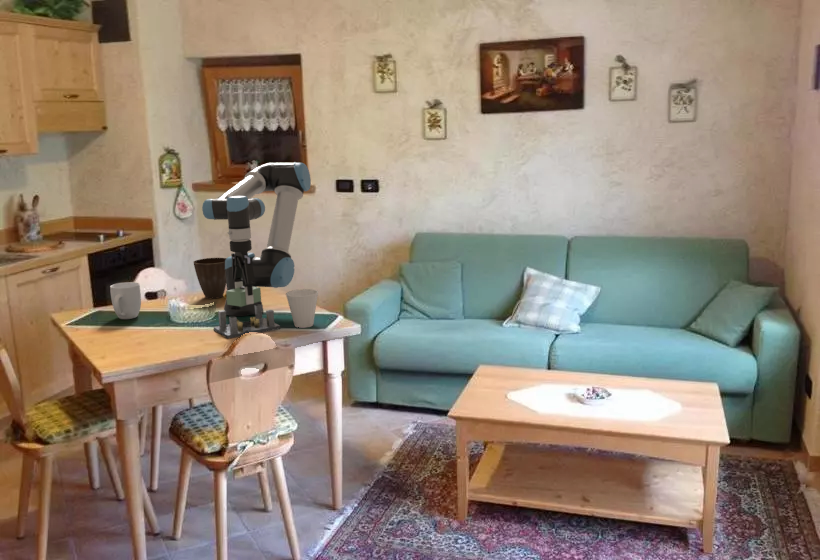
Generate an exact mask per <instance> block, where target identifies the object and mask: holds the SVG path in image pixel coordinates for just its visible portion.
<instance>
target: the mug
mask: <svg viewBox="0 0 820 560" xmlns="http://www.w3.org/2000/svg"><path fill="white" fill-rule="evenodd" d="M109 289H110V292H109V293H110V299H111V303H112V307H113V310H114V312H115V314H116V316H117V317H118V318H119V319H120V320H130V319H135V318H137V317H138V316H139V315H140V314H139V313H140V311H141V307H142V295H141V294H142V293H141V285H140V283H139V282H136V281H135V282H134V281H130V282H128V281H126V282H117V283H114V284H112V285H110V286H109Z"/></svg>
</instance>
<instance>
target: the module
mask: <svg viewBox="0 0 820 560" xmlns="http://www.w3.org/2000/svg"><path fill="white" fill-rule="evenodd" d="M225 291H226V292H225V295H226V297H227V305H233V306H240V307H242V306H245V305H246V299H245V287H244V286H243V287H240V288H236V289H232V290H228V291H227V290H225ZM253 298H254V303H256V302H260V301H261V302H262V293H261V287H253ZM248 305H249V304H248Z"/></svg>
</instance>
